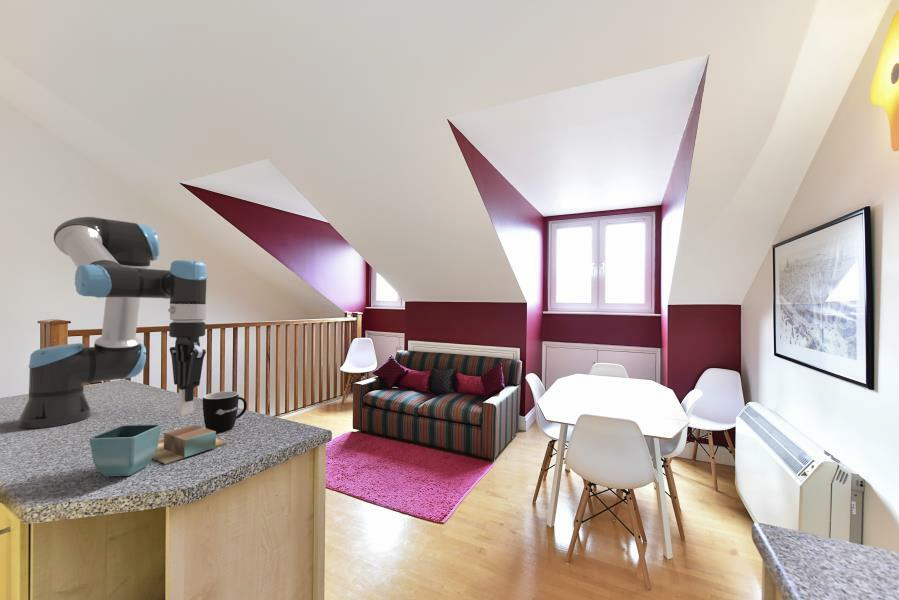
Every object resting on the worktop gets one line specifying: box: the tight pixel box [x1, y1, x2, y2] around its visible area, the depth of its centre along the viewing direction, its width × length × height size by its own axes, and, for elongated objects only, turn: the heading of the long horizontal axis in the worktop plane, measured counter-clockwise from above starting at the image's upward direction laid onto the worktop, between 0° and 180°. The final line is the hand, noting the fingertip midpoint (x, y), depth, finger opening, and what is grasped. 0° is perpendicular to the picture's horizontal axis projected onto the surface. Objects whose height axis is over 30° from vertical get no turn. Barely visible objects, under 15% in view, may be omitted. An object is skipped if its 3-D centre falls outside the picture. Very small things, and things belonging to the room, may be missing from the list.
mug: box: [202, 390, 248, 434], centre depth 108 cm, size 12×9×10 cm
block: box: [163, 424, 217, 458], centre depth 92 cm, size 4×7×10 cm
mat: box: [151, 436, 228, 465], centre depth 94 cm, size 18×14×1 cm
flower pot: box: [89, 424, 162, 477], centre depth 80 cm, size 9×9×9 cm
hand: (186, 413), depth 93 cm, fingers closed
